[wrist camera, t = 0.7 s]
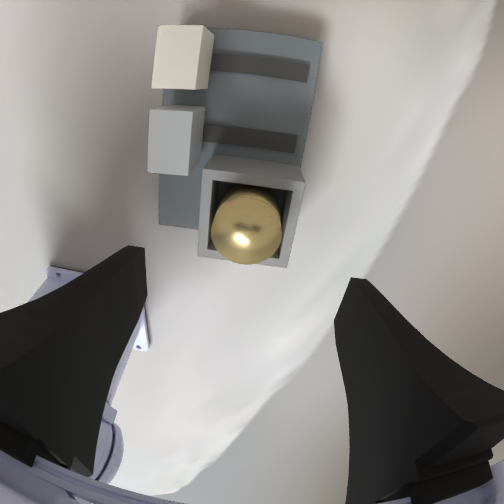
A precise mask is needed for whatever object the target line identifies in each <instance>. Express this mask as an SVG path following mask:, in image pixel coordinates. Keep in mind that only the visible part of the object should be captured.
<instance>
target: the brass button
mask: <svg viewBox="0 0 504 504" xmlns="http://www.w3.org/2000/svg"><path fill="white" fill-rule="evenodd" d="M281 237H282V230H281V220H280V209H279V202H278V199H277V197H276V195H275V193H274V192H273V191H272V190H271V189H270V188H269V187H263V186H256V185H248V184H241V183H235V184H233V185H232V186H230V187H229V188H228V189H227V190H226V191H225V193H224V194H223V196H222V198H221V201H220V203H219V206H218V209H217V212H216V215H215V217H214V220H213V223H212V227H211V238H212V241H213V244H214V246H215V248H216V249H217V251H218V252H219V253H220V254H221V255H222V256H224V257H225V258H226V259H228V260H230V261H232V262H235V263H238V264H246V265H247V264H256V263H260V262H262V261H264V260H266V259H268V258H269V257H271V256H272V255H273V254H274V253H275V252H276V250H277V249H278V247H279V245H280V242H281Z"/></svg>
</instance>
